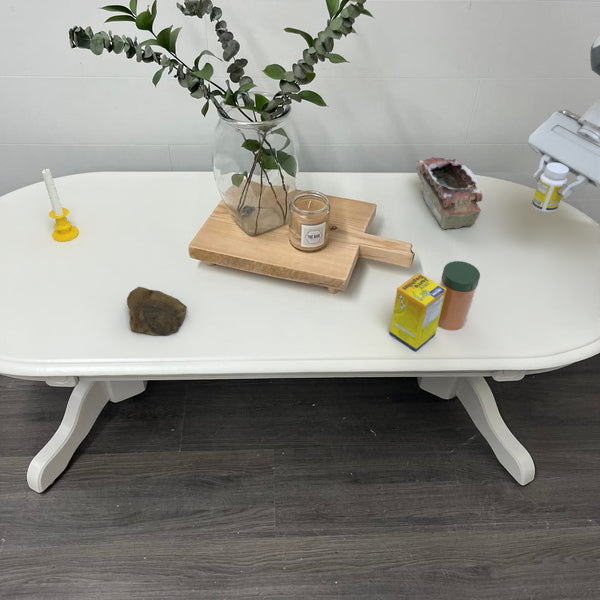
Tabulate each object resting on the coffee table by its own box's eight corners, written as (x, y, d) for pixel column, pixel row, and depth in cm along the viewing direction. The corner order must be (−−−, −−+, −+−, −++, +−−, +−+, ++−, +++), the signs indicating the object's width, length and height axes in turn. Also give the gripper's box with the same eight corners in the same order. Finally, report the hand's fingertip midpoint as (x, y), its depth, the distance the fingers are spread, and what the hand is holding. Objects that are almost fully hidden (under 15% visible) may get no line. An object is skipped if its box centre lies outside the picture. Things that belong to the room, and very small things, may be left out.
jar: (470, 328, 102) (485, 284, 95) (438, 332, 101) (450, 287, 94) (458, 305, 106) (471, 261, 99) (427, 308, 105) (438, 265, 98)
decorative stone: (193, 304, 105) (191, 289, 103) (176, 340, 98) (174, 325, 96) (138, 296, 106) (135, 282, 104) (118, 331, 99) (114, 317, 97)
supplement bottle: (558, 203, 111) (573, 164, 106) (555, 215, 108) (570, 176, 102) (532, 197, 113) (546, 158, 107) (529, 209, 110) (542, 170, 104)
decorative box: (417, 234, 123) (425, 195, 116) (397, 185, 137) (403, 148, 131) (477, 232, 124) (488, 193, 117) (451, 184, 138) (459, 147, 132)
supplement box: (408, 318, 103) (418, 271, 96) (435, 335, 100) (448, 288, 93) (387, 334, 100) (396, 287, 93) (415, 352, 97) (426, 305, 90)
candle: (58, 244, 117) (36, 177, 106) (48, 232, 120) (26, 166, 109) (82, 235, 119) (63, 169, 109) (72, 224, 122) (53, 158, 112)
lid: (483, 289, 96) (485, 282, 95) (449, 293, 95) (451, 285, 94) (469, 267, 100) (471, 259, 99) (436, 270, 99) (438, 262, 98)
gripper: (555, 97, 109) (503, 155, 112) (649, 142, 95) (587, 206, 98) (564, 115, 113) (514, 170, 116) (655, 160, 100) (596, 221, 103)
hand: (548, 187), depth 107 cm, fingers closed on supplement bottle, 5 cm apart
